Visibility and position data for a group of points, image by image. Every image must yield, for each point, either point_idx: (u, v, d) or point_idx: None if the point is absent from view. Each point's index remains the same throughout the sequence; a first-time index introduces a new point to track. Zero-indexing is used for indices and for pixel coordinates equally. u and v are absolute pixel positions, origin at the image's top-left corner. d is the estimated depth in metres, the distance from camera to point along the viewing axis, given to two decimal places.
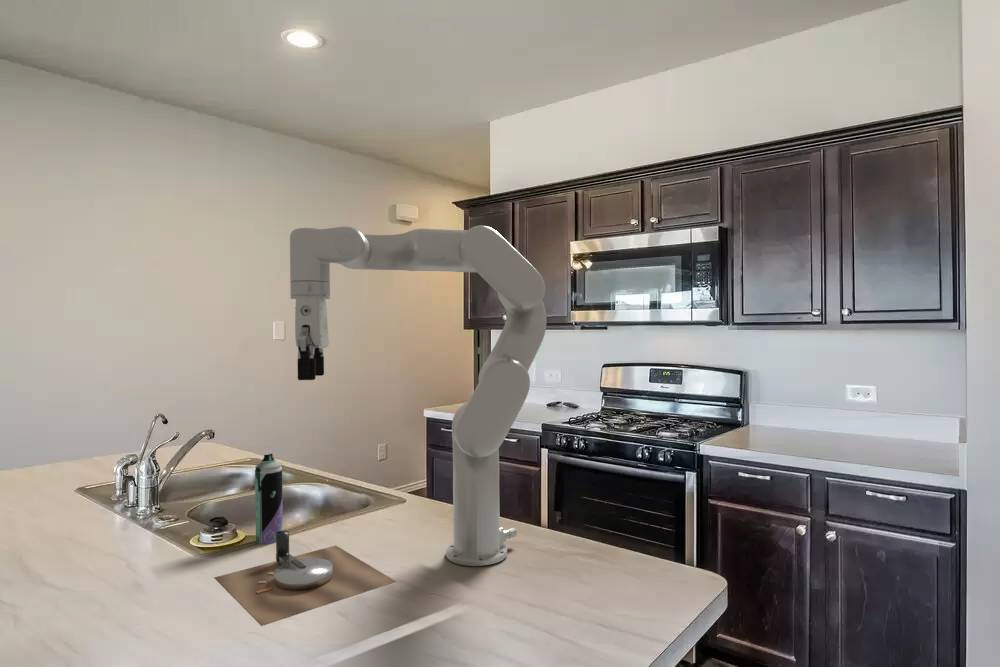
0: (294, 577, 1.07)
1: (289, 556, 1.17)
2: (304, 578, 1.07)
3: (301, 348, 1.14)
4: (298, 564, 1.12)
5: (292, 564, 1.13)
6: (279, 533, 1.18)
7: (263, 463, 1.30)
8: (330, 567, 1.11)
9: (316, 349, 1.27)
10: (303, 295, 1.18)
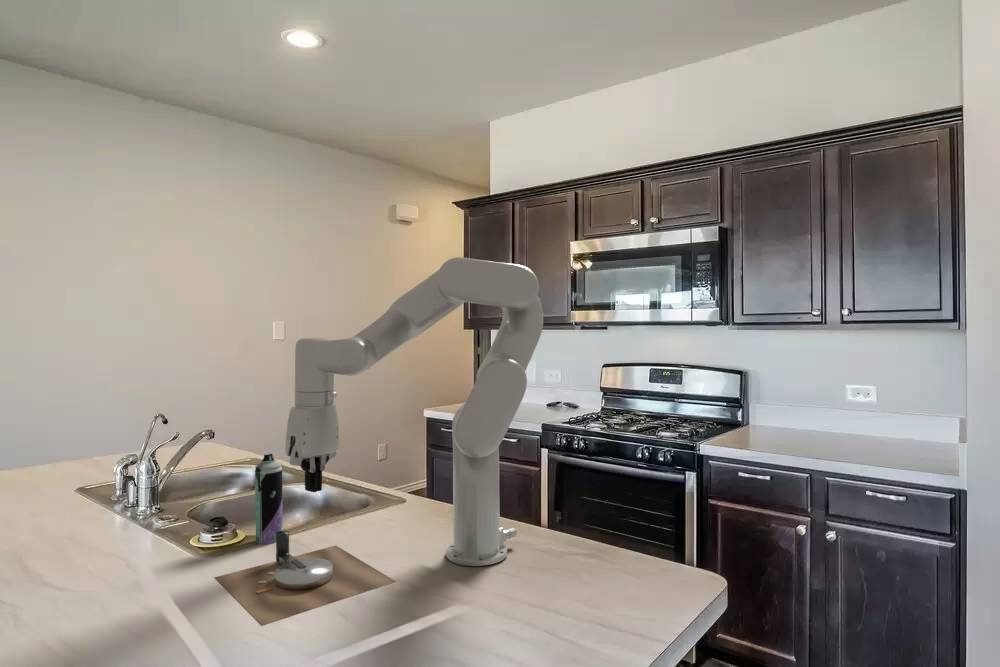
0: (294, 577, 1.07)
1: (289, 556, 1.17)
2: (304, 578, 1.07)
3: None
4: (298, 564, 1.12)
5: (292, 564, 1.13)
6: (279, 533, 1.18)
7: (263, 463, 1.30)
8: (330, 567, 1.11)
9: None
10: None
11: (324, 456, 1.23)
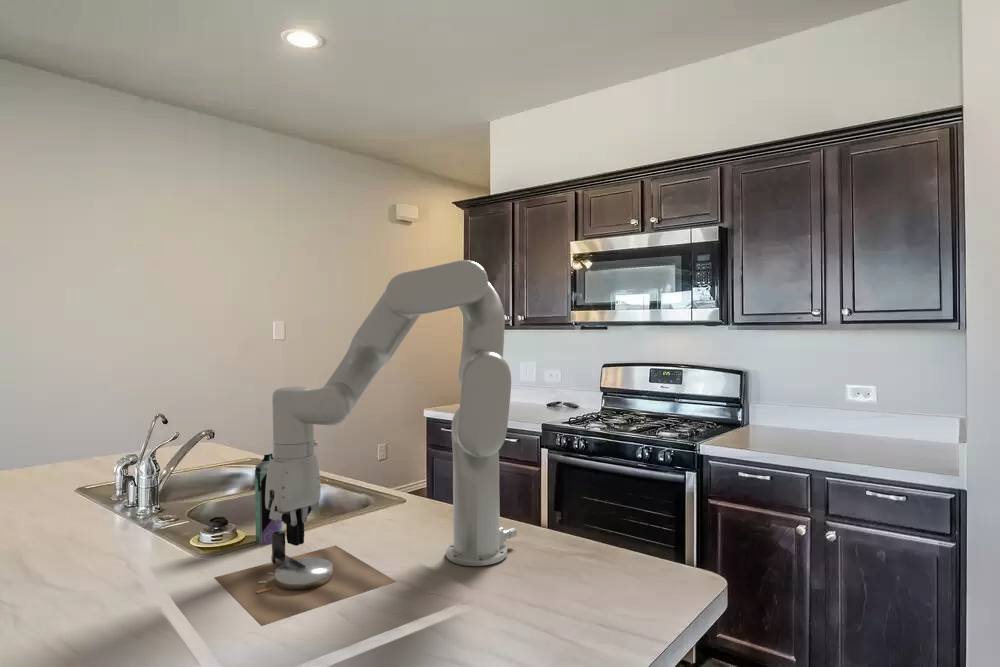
0: (296, 577, 1.07)
1: (286, 557, 1.17)
2: (306, 578, 1.07)
3: None
4: (297, 564, 1.12)
5: (291, 565, 1.13)
6: (275, 534, 1.18)
7: (263, 463, 1.30)
8: (330, 566, 1.12)
9: None
10: None
11: (306, 508, 1.21)
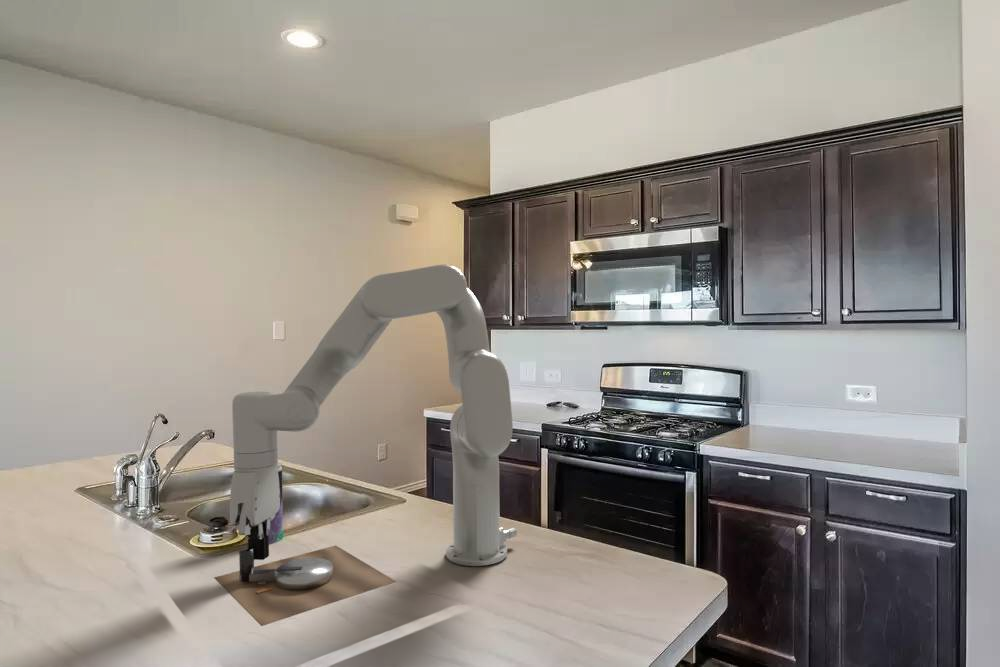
0: (316, 574, 1.09)
1: (259, 570, 1.11)
2: (327, 571, 1.10)
3: None
4: (292, 568, 1.11)
5: (285, 571, 1.10)
6: (246, 550, 1.09)
7: None
8: (323, 559, 1.15)
9: None
10: None
11: (269, 519, 1.14)
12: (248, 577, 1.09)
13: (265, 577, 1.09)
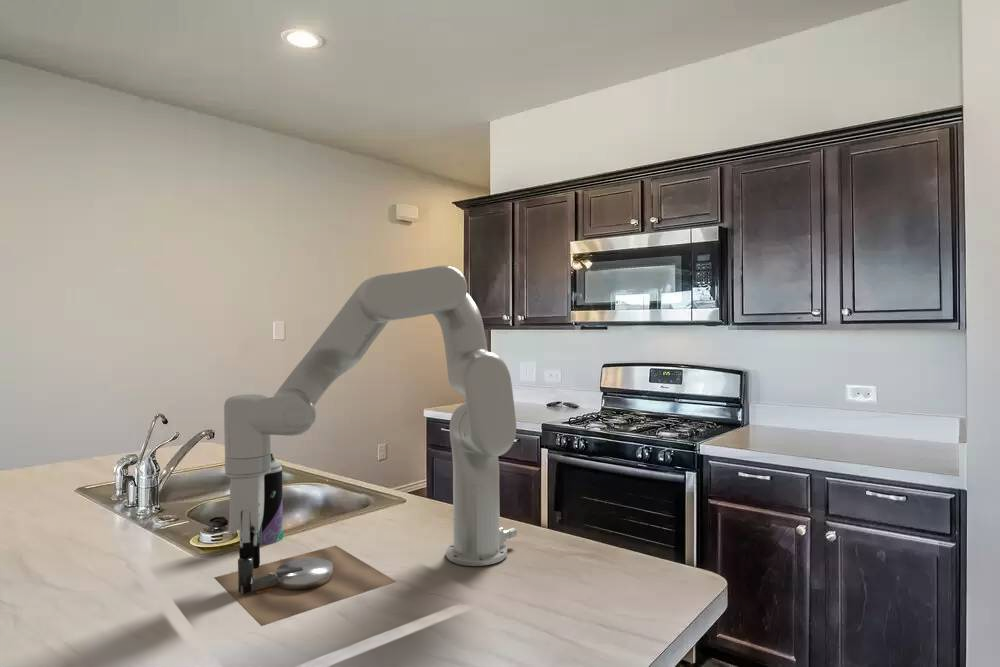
0: (323, 570, 1.10)
1: (257, 579, 1.07)
2: (331, 566, 1.12)
3: None
4: (293, 570, 1.10)
5: (288, 574, 1.09)
6: (246, 559, 1.05)
7: None
8: (313, 558, 1.16)
9: None
10: None
11: None
12: (250, 587, 1.05)
13: (268, 583, 1.07)
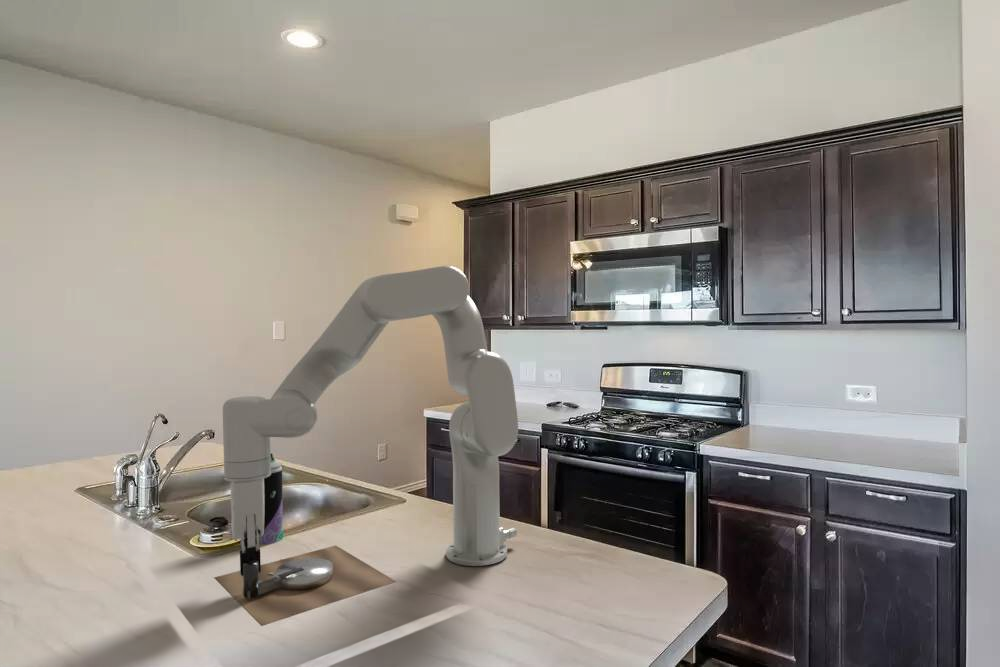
0: (325, 568, 1.11)
1: (261, 582, 1.05)
2: (331, 563, 1.13)
3: None
4: (294, 571, 1.09)
5: (291, 575, 1.08)
6: (253, 563, 1.03)
7: None
8: (306, 558, 1.16)
9: None
10: None
11: None
12: (257, 591, 1.03)
13: (273, 586, 1.06)
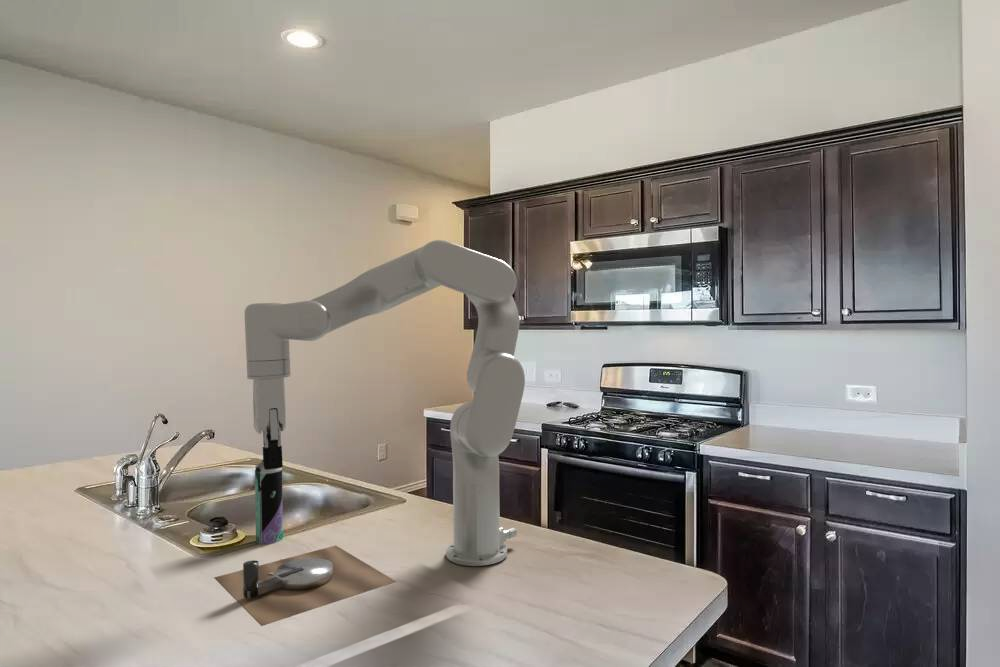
0: (325, 568, 1.11)
1: (261, 583, 1.05)
2: (331, 563, 1.13)
3: None
4: (294, 571, 1.09)
5: (291, 575, 1.08)
6: (253, 563, 1.03)
7: None
8: (306, 558, 1.16)
9: None
10: None
11: None
12: (257, 591, 1.03)
13: (273, 586, 1.06)
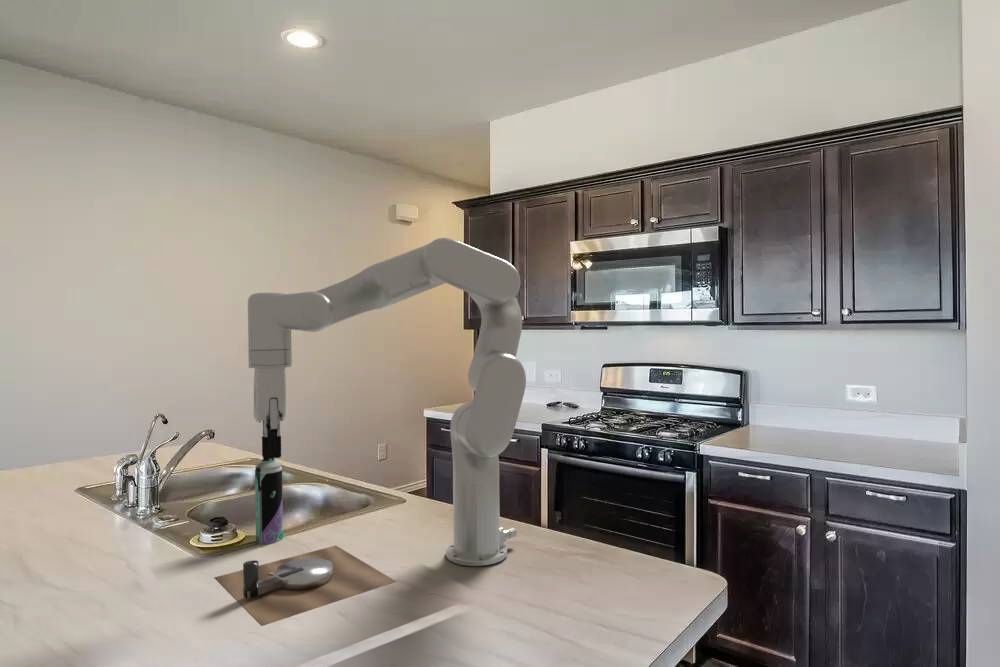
0: (325, 568, 1.11)
1: (261, 583, 1.05)
2: (331, 563, 1.13)
3: None
4: (294, 571, 1.09)
5: (291, 575, 1.08)
6: (253, 563, 1.03)
7: (263, 463, 1.30)
8: (306, 558, 1.16)
9: None
10: None
11: None
12: (257, 591, 1.03)
13: (273, 586, 1.06)
